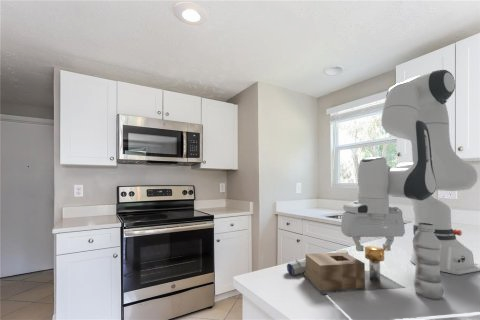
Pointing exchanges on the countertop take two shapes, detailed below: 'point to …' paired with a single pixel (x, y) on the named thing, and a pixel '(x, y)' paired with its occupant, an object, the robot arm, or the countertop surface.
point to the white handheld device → (301, 265)
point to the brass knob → (374, 261)
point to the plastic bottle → (427, 262)
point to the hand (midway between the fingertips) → (373, 250)
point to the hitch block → (342, 274)
